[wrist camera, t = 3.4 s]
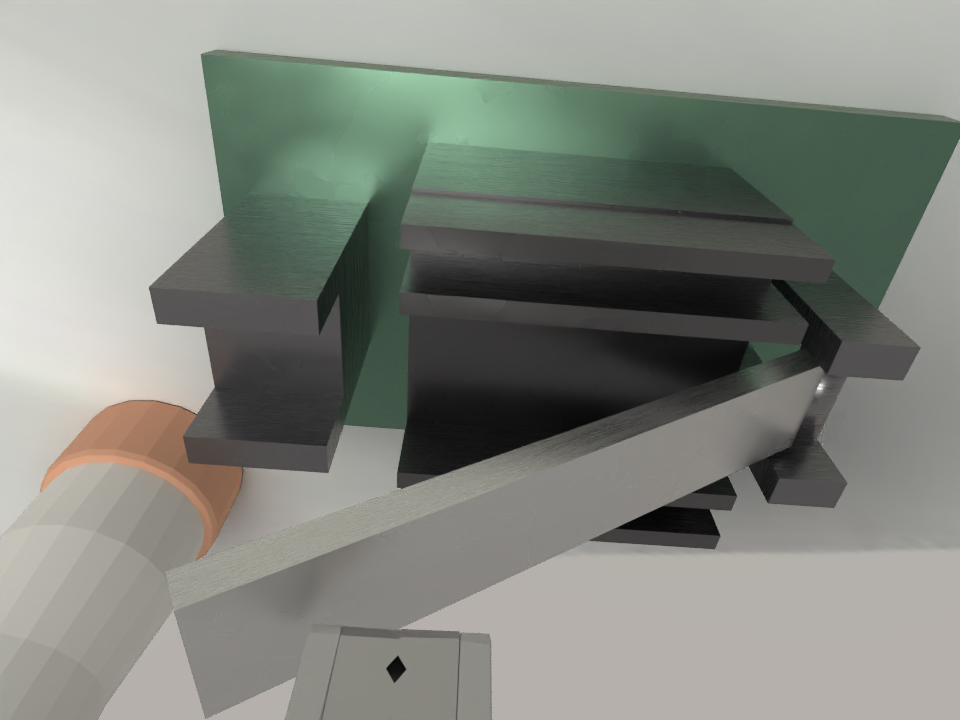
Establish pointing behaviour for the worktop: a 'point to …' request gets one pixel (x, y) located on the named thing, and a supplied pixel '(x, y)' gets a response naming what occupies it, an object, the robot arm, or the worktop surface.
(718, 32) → the worktop surface
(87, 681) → the pepper shaker
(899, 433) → the worktop surface
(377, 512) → the steel strap
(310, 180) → the cooling board
